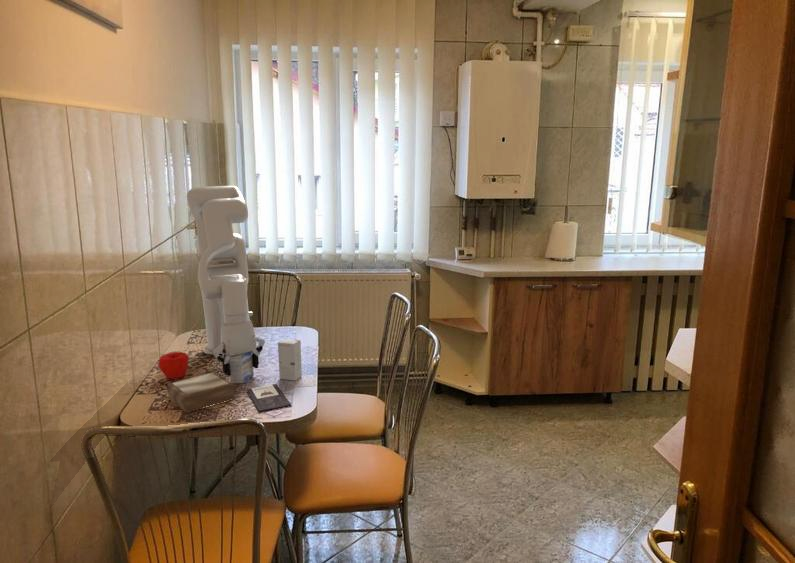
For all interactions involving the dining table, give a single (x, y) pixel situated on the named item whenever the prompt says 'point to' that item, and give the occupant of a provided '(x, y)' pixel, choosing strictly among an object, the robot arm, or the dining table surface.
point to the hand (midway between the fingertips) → (241, 370)
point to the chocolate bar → (268, 398)
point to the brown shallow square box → (200, 391)
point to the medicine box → (241, 367)
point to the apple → (174, 365)
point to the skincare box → (289, 359)
